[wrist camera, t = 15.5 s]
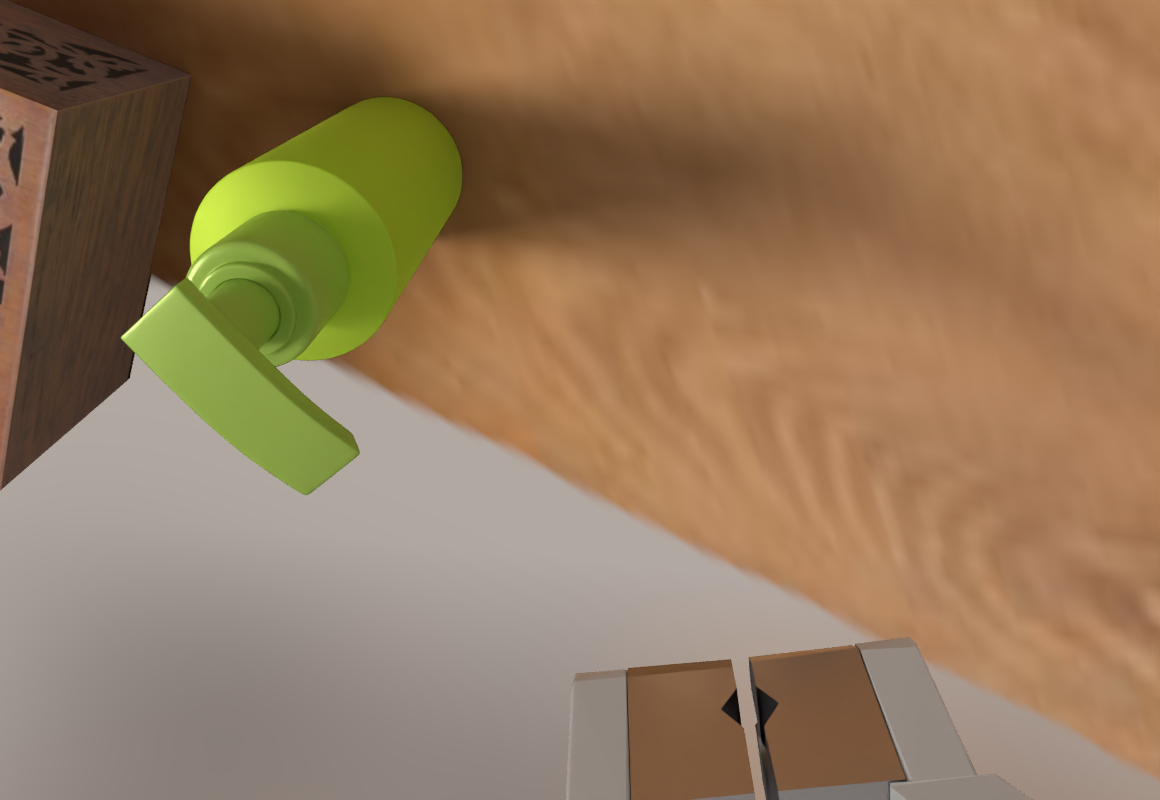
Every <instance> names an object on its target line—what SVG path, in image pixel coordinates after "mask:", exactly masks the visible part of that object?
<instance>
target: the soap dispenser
mask: <svg viewBox="0 0 1160 800" xmlns="http://www.w3.org/2000/svg"><path fill="white" fill-rule="evenodd" d="M461 188H462V164H461V159H460V155H459V152H458V149H457V147H456V144H455V142H454V140H453V138H452V137H451V135H450V133H449V132H448V131H447V129H446V128H445V127H444V125H443V124H442V123H441V122H440V121H439V120H438V119H437V118H436V117H435V116H434V115H432V114H431V113H430V112H428V111H427V110H425V109H424V108H422V107H420V106H418V105H416V104H414V103H412V102H409V101H406V100H403V99H398V98H392V97H377V98H371V99H367V100H363V101H360V102H358V103H356V104H354V105H352V106H350V107H348V108H347V109H345V110H343V111H341V112H339V113H337V114H336V115H334V116H332V117H330V118H328V119H327V120H325V121H323V122H321V123H319V124H318V125H316V126H314V127H312V128H310V129H309V130H307V131H305V132H303V133H301V134H300V135H298V136H296V137H294V138H292V139H290V140H289V141H287V142H285V143H283V144H281V145H280V146H278V147H276V148H274V149H272V150H271V151H269V152H267V153H265V154H263V155H262V156H260V157H258V158H256V159H254V160H253V161H251V162H249V163H247V164H245V165H244V166H242V167H240V168H238V169H236V170H234V171H233V172H231V173H229V174H228V175H226V176H225V177H224V178H222V179H221V180H220V181H219V182H217V183H216V184H215V185H214V186H213V187H212V188H211V190H210V191H209V192H208V193H207V195H206V196H205V197H204V199H203V200H202V202H201V204H200V206H199V208H198V210H197V212H196V215H195V217H194V221H193V224H192V229H191V235H190V257H191V264H192V266H191V267H190V269H189V271H188V273H187V276H186V278H185V279H184V280H182V281H181V282H180V283H178V284H177V285H176V286H174V287H173V288H172V289H171V290H170V291H169V292H168V293H167V294H166V295H165V296H164V297H163V298H162V299H161V300H159V301H158V302H157V303H156V304H155V305H154V306H153V307H152V308H151V309H150V310H149V311H148V312H147V313H146V314H145V315H144V316H142V317H141V318H140V319H139V320H138V321H137V322H136V323H135V324H134V325H133V326H132V327H131V328H130V329H129V330H128V331H127V332H126V333H124V334H123V335H122V337H121V339H122V340H123V341H124V342H125V343H126V344H127V345H128V346H129V347H130V348H131V349H132V350H133V351H134V352H135V353H136V354H137V355H138V356H139V357H140V358H141V359H142V360H143V361H144V362H145V363H146V364H147V365H148V367H149V368H150V369H151V370H152V371H153V372H154V373H156V375H157V376H158V377H159V378H160V379H161V380H162V381H163V382H164V383H165V384H166V385H168V387H169V388H170V389H171V390H173V391H174V392H175V393H176V394H177V395H178V396H179V397H180V398H181V399H182V400H183V401H184V402H185V403H186V404H187V405H188V406H189V407H190V408H191V409H192V410H193V411H194V412H195V413H196V414H197V415H199V416H200V417H201V418H202V419H203V420H204V421H205V422H206V423H207V424H208V425H209V426H211V427H212V428H213V429H214V430H215V431H216V432H217V433H219V434H220V435H221V436H222V437H223V438H224V439H226V440H227V441H228V442H229V443H230V444H232V445H233V446H234V447H235V448H237V449H238V450H239V451H240V452H242V453H243V454H244V455H246V456H247V457H248V458H250V459H251V460H252V461H254V462H255V463H256V464H258V465H259V466H260V467H262V468H263V469H265V470H266V471H268V472H269V473H271V474H272V475H273V476H275V477H276V478H278V479H279V480H281V481H282V482H284V483H286V484H287V485H289V486H290V487H292V488H293V489H295V490H297V491H298V492H300V493H302V494H304V495H308V494H310V493H311V492H312V491H314V490H315V489H316V488H318V487H319V486H320V485H321V484H323V483H324V482H325V481H327V480H328V479H329V478H330V477H332V476H333V475H334V474H336V473H337V472H338V471H339V470H340V469H342V468H343V467H344V466H346V465H347V464H348V463H349V462H351V461H352V460H353V459H354V458H356V457H357V456H358V455H359V454H360V452H359V449H358V446H357V443H356V441H355V439H354V436H353V435H352V433H351V432H349V431H348V430H347V429H346V428H344V427H343V426H342V425H341V424H339V423H338V422H337V421H335V420H334V419H333V418H331V417H330V416H329V415H328V414H326V413H325V412H324V411H323V410H321V409H320V408H319V407H318V406H317V405H316V404H314V403H313V402H312V401H311V400H310V399H309V398H308V397H306V396H305V395H304V394H303V393H302V392H301V391H300V390H299V389H298V388H297V387H295V386H294V385H293V384H292V383H291V382H290V381H289V380H288V379H287V378H286V377H285V376H284V375H283V374H282V373H281V372H280V371H279V370H278V369H277V368H276V367H277V366H280V365H283V364H286V363H288V362H290V361H291V360H293V359H294V360H307V361H308V360H322V359H328V358H333V357H336V356H339V355H342V354H345V353H347V352H349V351H351V350H353V349H355V348H357V347H358V346H360V345H362V344H363V343H364V342H366V341H367V340H368V339H369V338H370V337H371V336H372V335H373V334H374V333H375V332H376V331H377V330H378V329H379V328H380V326H381V325H382V324H383V322H384V321H385V319H386V317H387V316H388V314H389V313H390V311H391V309H392V308H393V306H394V305H395V303H396V301H397V300H398V298H399V297H400V295H401V293H402V292H403V290H404V289H405V287H406V285H407V284H408V282H409V281H410V279H411V277H412V276H413V274H414V273H415V271H416V269H417V268H418V266H419V265H420V263H421V261H422V260H423V258H424V257H425V255H426V253H427V252H428V250H429V249H430V247H431V245H432V244H433V242H434V241H435V239H436V237H437V236H438V234H439V233H440V231H441V229H442V228H443V226H444V225H445V223H446V221H447V220H448V218H449V217H450V215H451V213H452V212H453V210H454V208H455V206H456V204H457V202H458V199H459V196H460V193H461Z"/></svg>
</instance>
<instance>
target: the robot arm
mask: <svg viewBox="0 0 1160 800" xmlns="http://www.w3.org/2000/svg"><path fill="white" fill-rule="evenodd" d="M749 671H750V681H751V690H752V695H753V701H754V706H755V711H756V717H757V721H758V722H757V723H756V725H755V727H756V734H757V741H758V749H759V757H760V765H761V772H762V780H763V786H764V791H765V797H766V800H1032V799H1031V798H1029V797H1028V796H1027V795H1025V794H1024V793H1022V792H1021V791H1019V790H1018V789H1017V788H1015V787H1014V786H1012V785H1011V784H1009V783H1008V782H1006V781H1005V780H1004V779H1002V778H1001V777H999V776H998V775H996V774H989V775H977V773H976V771H975V769H974V767H973V764H972V762H971V760H970V758H969V756H968V754H967V751H966V749H965V747H964V745H963V743H962V741H961V739H960V737H959V734H958V732H957V730H956V728H955V726H954V723H953V721H952V719H951V717H950V715H949V713H948V710H947V708H946V706H945V704H944V702H943V700H942V697H941V695H940V693H939V691H938V689H937V687H936V685H935V682H934V680H933V678H932V676H931V674H930V672H929V669H928V667H927V665H926V663H925V661H924V659H923V656H922V654H921V652H920V650H919V648H918V646H917V644H916V643H915V642H914V641H913V640H912V639H910V638H909V637H906V638H898V639H890V640H882V641H874V642H867V643H859V644H855V646H852V645H849V646H841V647H832V648H824V649H815V650H808V651H798V652H789V653H781V654H772V655H764V656H756V657H749ZM566 800H755V794H754V787H753V781H752V775H751V769H750V763H749V757H748V751H747V745H746V739H745V733H744V728H743V727H742V726H741V719H740V712H739V704H738V696H737V688H736V683H735V679H734V673H733V668H732V662H731V660H718V661H706V662H694V663H682V664H671V665H660V666H648V667H637V668H636V667H635V668H628V670H613V671H601V672H591V673H577V674H576V675H575V678H574V680H573V683H572V688H571V708H570V729H569V749H568V770H567V789H566Z"/></svg>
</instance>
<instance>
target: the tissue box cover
mask: <svg viewBox="0 0 1160 800" xmlns="http://www.w3.org/2000/svg"><path fill="white" fill-rule="evenodd" d="M190 78H191V75H190V74H188V73H185V72H183V71H180V70H178V69H175V68H173V67H171V66H168V65H166V64H163V63H161V62H158V61H156V60H153V59H151V58H148V57H146V56H144V55H141V54H139V53H136V52H134V51H131V50H129V49H126V48H124V47H121V46H119V45H117V44H114V43H112V42H109V41H107V40H104V39H102V38H99V37H97V36H95V35H92V34H90V33H87V32H85V31H82V30H80V29H77V28H75V27H72V26H70V25H68V24H65V23H63V22H60V21H58V20H55V19H53V18H50V17H48V16H45V15H43V14H41V13H38V12H36V11H33V10H31V9H28V8H26V7H23V6H21V5H18V4H16V3H14V2H11V1H9V0H0V490H1V489H2V488H4V487H5V486H6V485H7V484H8V483H9V482H11V481H12V480H13V479H14V478H15V477H16V476H17V475H19V474H20V473H21V472H22V471H23V470H24V469H26V468H27V467H28V466H29V465H30V464H31V463H33V462H34V461H35V460H36V459H37V458H38V457H39V456H41V455H42V454H43V453H44V452H45V451H46V450H48V449H49V448H50V447H51V446H52V445H53V444H54V443H55V442H57V441H58V440H59V439H60V438H61V437H62V436H64V435H65V434H66V433H67V432H68V431H70V430H71V429H72V428H73V427H74V426H75V425H76V424H78V423H79V422H80V421H81V420H82V419H83V418H85V417H86V416H87V415H88V414H89V413H90V412H91V411H93V410H94V409H95V408H96V407H97V406H98V405H99V404H101V403H102V402H103V401H104V400H105V399H106V398H107V397H109V396H110V395H111V394H112V393H113V392H115V391H116V390H117V389H118V388H119V387H120V386H121V385H123V384H124V383H125V382H126V381H127V380H128V379H129V378H130V375H131V370H132V365H133V360H134V356H135V352H134V351H133V350H132V349H131V348H130V347H129V346H128V345H127V344H126V343H125V342H124V341H123V340H122V339H121V337H122V335H123V334H124V333H126V332H127V331H128V330H129V329H130V328H131V327H132V326H133V325H134V324H135V323H136V322H137V321H138V320H139V319H140V318H141V317H142V316H143V313H144V307H145V303H146V298H147V294H148V289H149V284H150V279H149V274H150V269H151V264H152V260H153V255H154V250H155V245H156V241H157V236H158V231H159V226H160V222H161V217H162V212H163V207H164V202H165V198H166V193H167V188H168V183H169V179H170V174H171V169H172V164H173V159H174V155H175V150H176V145H177V140H178V136H179V131H180V126H181V121H182V116H183V112H184V107H185V102H186V97H187V93H188V88H189V83H190Z"/></svg>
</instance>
